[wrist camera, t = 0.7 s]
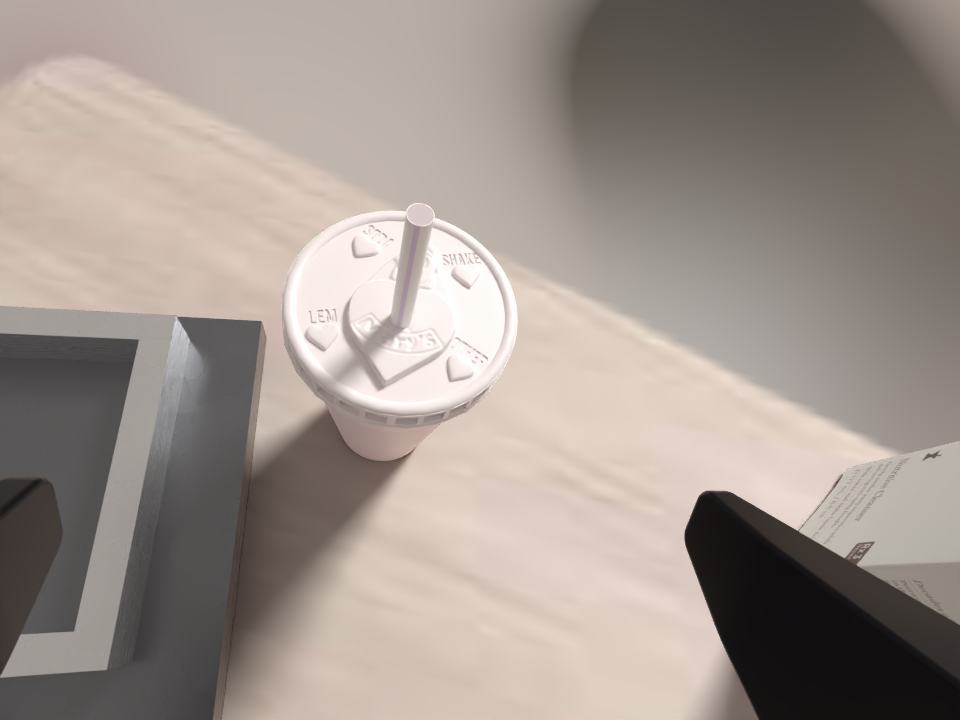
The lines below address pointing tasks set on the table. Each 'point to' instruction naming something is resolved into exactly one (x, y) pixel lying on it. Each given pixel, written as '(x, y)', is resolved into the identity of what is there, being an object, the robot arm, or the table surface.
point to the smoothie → (397, 326)
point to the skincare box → (900, 524)
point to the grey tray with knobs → (130, 506)
